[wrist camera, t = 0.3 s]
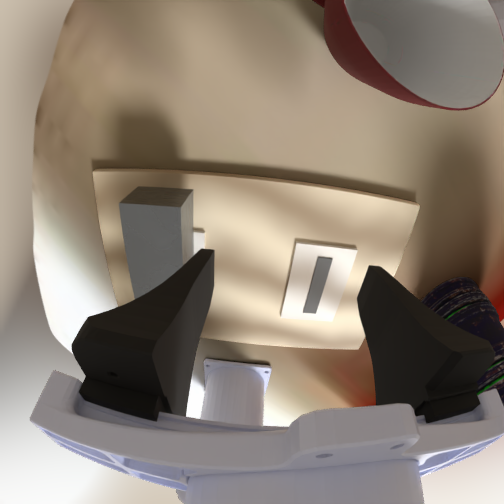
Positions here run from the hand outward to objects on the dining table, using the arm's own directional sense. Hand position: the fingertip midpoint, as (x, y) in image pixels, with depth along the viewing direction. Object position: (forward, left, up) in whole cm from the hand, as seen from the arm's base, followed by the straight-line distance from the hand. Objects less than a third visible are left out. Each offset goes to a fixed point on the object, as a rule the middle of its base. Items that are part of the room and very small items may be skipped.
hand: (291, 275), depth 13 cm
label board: (-7, +2, -9) cm, 12 cm away
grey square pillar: (-7, +8, -8) cm, 14 cm away
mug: (+13, -3, -10) cm, 16 cm away
